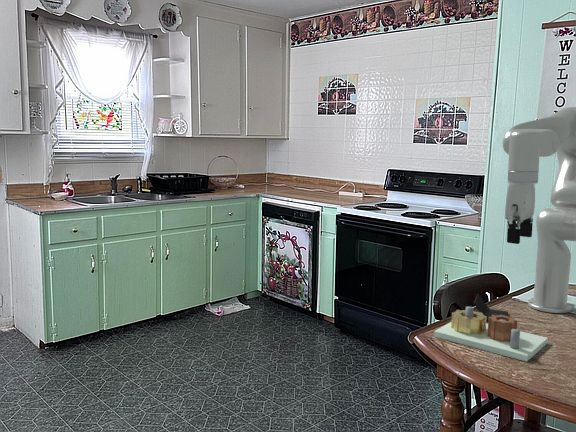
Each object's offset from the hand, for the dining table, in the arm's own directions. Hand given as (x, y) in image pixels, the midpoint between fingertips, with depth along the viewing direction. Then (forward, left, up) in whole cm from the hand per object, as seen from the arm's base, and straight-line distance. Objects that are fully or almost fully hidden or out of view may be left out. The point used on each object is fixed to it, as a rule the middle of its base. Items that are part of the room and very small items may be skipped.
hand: (519, 239), depth 147 cm
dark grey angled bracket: (-6, -9, -26) cm, 28 cm away
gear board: (+13, -2, -25) cm, 28 cm away
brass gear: (+13, -8, -24) cm, 28 cm away
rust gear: (+13, +1, -24) cm, 27 cm away
